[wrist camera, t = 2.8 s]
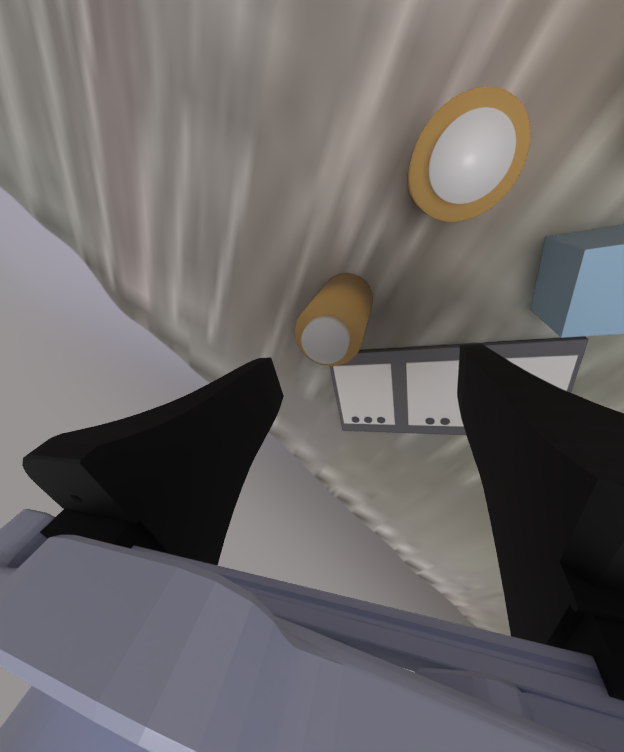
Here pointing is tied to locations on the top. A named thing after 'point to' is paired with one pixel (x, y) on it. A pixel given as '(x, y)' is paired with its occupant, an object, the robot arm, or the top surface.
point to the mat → (434, 383)
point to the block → (582, 283)
